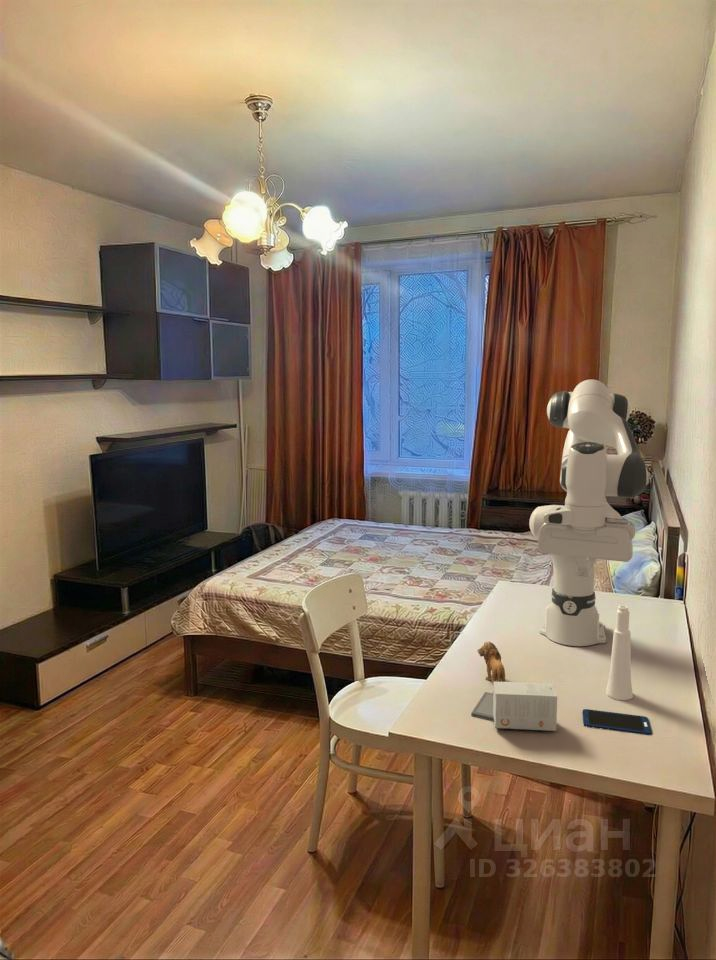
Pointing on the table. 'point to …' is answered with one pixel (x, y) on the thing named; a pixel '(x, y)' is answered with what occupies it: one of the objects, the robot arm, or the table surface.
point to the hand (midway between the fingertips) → (583, 575)
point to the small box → (525, 706)
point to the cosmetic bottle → (621, 659)
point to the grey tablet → (485, 707)
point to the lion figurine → (492, 662)
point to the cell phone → (616, 721)
